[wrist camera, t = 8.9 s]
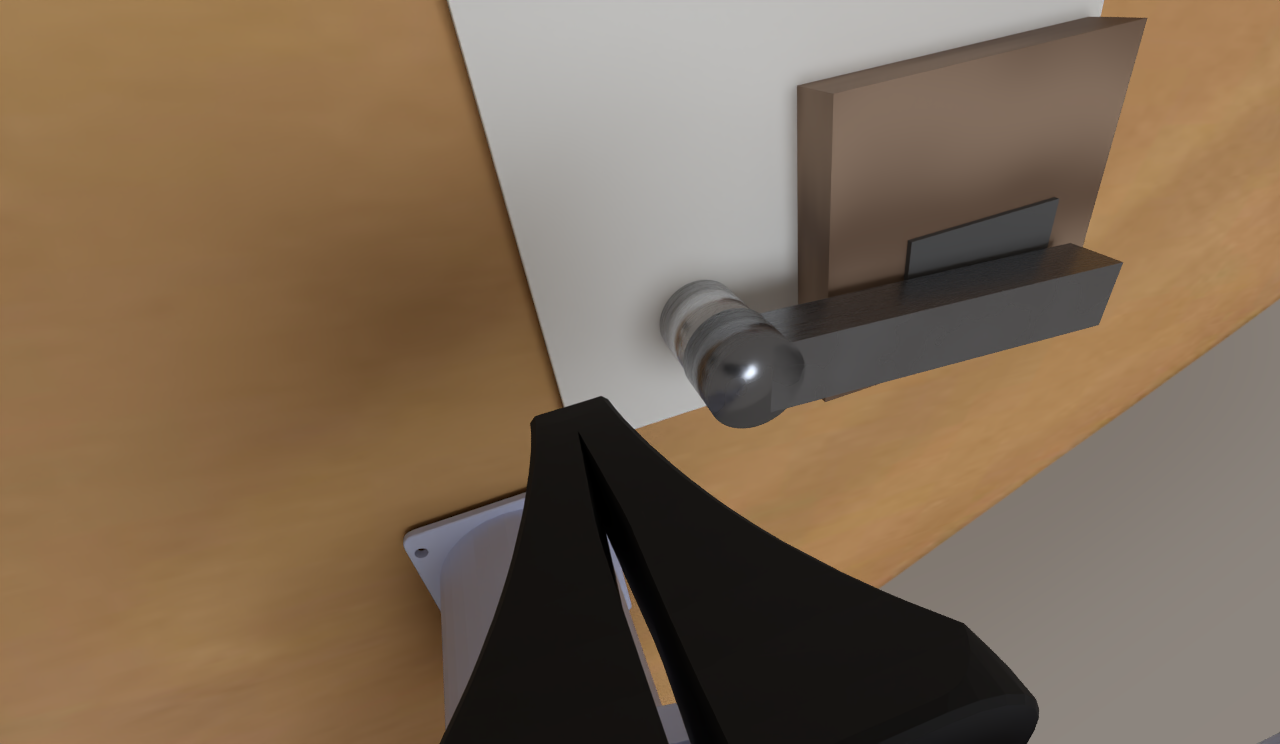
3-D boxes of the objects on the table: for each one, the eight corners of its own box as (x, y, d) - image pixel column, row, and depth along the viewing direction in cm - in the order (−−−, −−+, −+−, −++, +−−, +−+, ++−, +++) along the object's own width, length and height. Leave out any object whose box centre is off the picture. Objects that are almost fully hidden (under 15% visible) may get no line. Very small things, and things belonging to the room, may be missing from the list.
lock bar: (684, 403, 20) (708, 439, 18) (681, 319, 18) (706, 350, 17) (1047, 311, 23) (1094, 334, 22) (1074, 232, 22) (1127, 250, 20)
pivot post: (738, 341, 23) (766, 370, 21) (665, 364, 22) (686, 395, 20) (734, 270, 21) (763, 294, 19) (654, 293, 21) (676, 320, 19)
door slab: (1021, 302, 26) (1061, 322, 25) (798, 375, 25) (825, 401, 23) (1088, 16, 20) (1147, 18, 19) (796, 85, 18) (833, 93, 17)
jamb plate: (1013, 290, 27) (1031, 299, 26) (571, 432, 24) (576, 448, 23) (1160, -373, 16) (1199, -392, 15) (363, -289, 13) (359, -309, 12)
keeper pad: (1032, 287, 23) (1036, 289, 23) (898, 331, 22) (901, 333, 22) (1054, 197, 21) (1059, 198, 21) (907, 240, 20) (911, 242, 20)
